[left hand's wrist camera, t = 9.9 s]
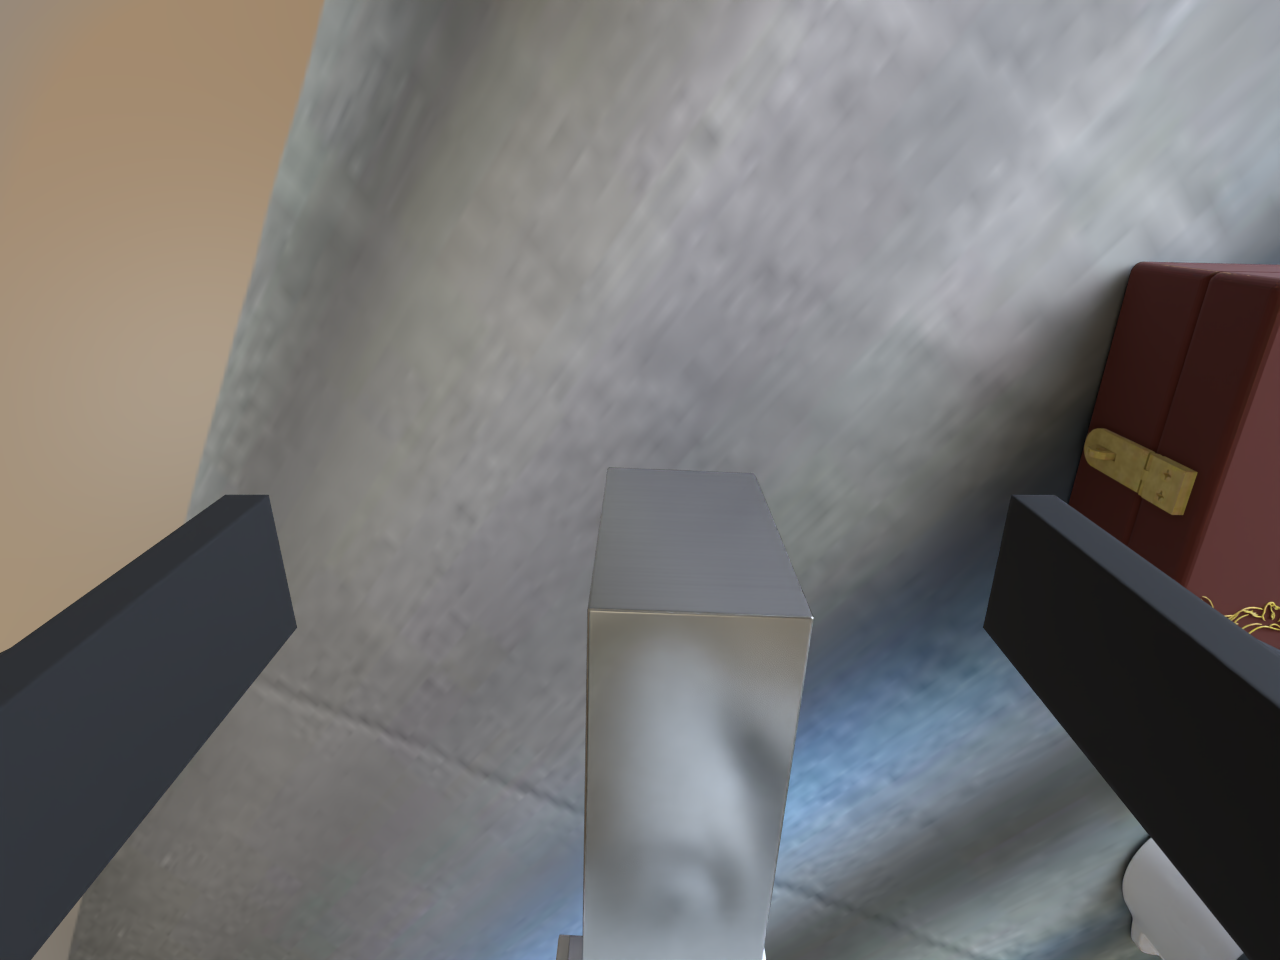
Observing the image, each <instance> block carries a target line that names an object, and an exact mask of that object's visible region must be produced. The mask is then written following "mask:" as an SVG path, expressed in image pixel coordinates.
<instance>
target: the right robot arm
mask: <svg viewBox="0 0 1280 960" xmlns="http://www.w3.org/2000/svg"><path fill="white" fill-rule="evenodd" d="M1122 888H1123V897H1124V900H1125V903H1126V905H1127V907H1128V909H1129V910H1130V912H1131V915H1132V918H1133V921H1132V927H1131V938H1132V940H1133V942H1134V943H1135V944H1136V945H1137V946H1138V948H1139V949H1140V950H1141V951H1142V952H1144V953H1147V954H1152V955H1158V956H1160V957H1161V958H1162V960H1249V959H1248V958H1247V957H1246V955H1245V954H1244V953H1243V952H1242V950H1241V949H1240V948H1239V947H1238V945H1237V944H1236V943H1235V942H1234V940H1233V939H1232V938H1231V937H1230V935H1229V934H1228V933H1227V932H1226V930H1225V929H1224V928H1223V927H1222V925H1221V924H1220V923H1219V922H1218V920H1217V919H1216V918H1215V917H1214V915H1213V914H1212V913H1211V912H1210V910H1209V909H1208V908H1207V907H1206V905H1205V904H1204V903H1203V902H1202V900H1201V899H1200V898H1199V897H1198V895H1197V894H1196V893H1195V892H1194V890H1193V889H1192V888H1191V887H1190V885H1189V884H1188V883H1187V882H1186V880H1185V879H1184V878H1183V877H1182V875H1181V874H1180V873H1179V872H1178V870H1177V869H1176V868H1175V867H1174V865H1173V864H1172V863H1171V862H1170V860H1169V859H1168V858H1167V857H1166V855H1165V854H1164V853H1163V852H1162V850H1161V849H1160V848H1159V847H1158V845H1157V844H1156V843H1155V842H1154V840H1153V839H1152V838H1150V839H1149V840H1148V841H1147V842H1146V843H1145V844H1144V845H1143V846H1142V847H1141V848H1140V849H1139V850H1138V851H1137V853H1136V854H1135V855H1134V857H1133V858H1132V860H1131V861H1130V863H1129V865H1128V867H1127V869H1126V872H1125V875H1124V879H1123V887H1122ZM582 950H583V936H575V935H559V940H558V948H557V957H556V960H582ZM762 960H766V956H765V950H763V957H762Z"/></svg>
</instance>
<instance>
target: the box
mask: <svg viewBox="0 0 1280 960" xmlns="http://www.w3.org/2000/svg"><path fill="white" fill-rule="evenodd" d="M1068 505H1070V506H1071V507H1072V508H1074V509H1075V510H1077V511H1078V512H1079V513H1081V514H1082V515H1084V516H1085V517H1086V518H1088V519H1089V520H1091V521H1092V522H1093V523H1095V524H1096V525H1098V526H1099V527H1101V528H1102V529H1103V530H1105V531H1106V532H1108V533H1109V534H1110V535H1112V536H1113V537H1115V538H1116V539H1117V540H1119V541H1120V542H1122V543H1123V544H1124V545H1126V546H1127V547H1129V548H1130V549H1131V550H1133V551H1134V552H1136V553H1137V554H1138V555H1140V556H1141V557H1143V558H1144V559H1145V560H1147V561H1148V562H1150V563H1151V564H1152V565H1154V566H1155V567H1157V568H1158V569H1159V570H1161V571H1162V572H1164V573H1165V574H1166V575H1168V576H1169V577H1171V578H1172V579H1173V580H1175V581H1176V582H1178V583H1179V584H1180V585H1182V586H1183V587H1185V588H1186V589H1187V590H1189V591H1190V592H1192V593H1193V594H1194V595H1196V596H1197V597H1199V598H1200V599H1202V600H1203V601H1204V602H1206V603H1207V604H1209V605H1210V606H1211V607H1213V608H1214V609H1216V610H1217V611H1218V612H1220V613H1221V614H1223V615H1224V616H1225V617H1227V618H1228V619H1230V620H1231V621H1232V622H1234V623H1235V624H1237V625H1238V626H1239V627H1241V628H1242V629H1244V630H1245V631H1246V632H1248V633H1249V634H1251V635H1252V636H1253V637H1255V638H1256V639H1258V640H1260V641H1262V642H1264V643H1267V644H1269V645H1271V646H1273V647H1275V648H1277V649H1279V650H1280V265H1261V264H1217V263H1173V262H1140V263H1138V264H1136V265H1135V266H1134V267H1133V268H1132V270H1131V274H1130V277H1129V281H1128V285H1127V288H1126V292H1125V296H1124V300H1123V303H1122V307H1121V311H1120V314H1119V318H1118V322H1117V326H1116V329H1115V333H1114V337H1113V340H1112V344H1111V348H1110V352H1109V355H1108V359H1107V363H1106V366H1105V370H1104V374H1103V378H1102V381H1101V385H1100V389H1099V393H1098V396H1097V400H1096V404H1095V407H1094V411H1093V415H1092V419H1091V422H1090V426H1089V430H1088V433H1087V437H1086V441H1085V445H1084V448H1083V452H1082V456H1081V459H1080V463H1079V467H1078V471H1077V474H1076V478H1075V482H1074V485H1073V489H1072V493H1071V497H1070V500H1069V504H1068Z"/></svg>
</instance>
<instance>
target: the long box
mask: <svg viewBox="0 0 1280 960" xmlns="http://www.w3.org/2000/svg"><path fill="white" fill-rule="evenodd" d="M813 621H814V617H813V615H812V612H811V610H810V607H809V605H808V602H807V600H806V597H805V595H804V593H803V590H802V588H801V585H800V583H799V580H798V578H797V576H796V573H795V571H794V568H793V566H792V563H791V561H790V558H789V556H788V554H787V551H786V549H785V546H784V544H783V541H782V539H781V537H780V534H779V532H778V529H777V527H776V524H775V522H774V519H773V517H772V515H771V512H770V510H769V507H768V505H767V502H766V500H765V498H764V495H763V493H762V490H761V488H760V485H759V483H758V480H757V478H756V476H755V474H754V473H740V472H715V471H690V470H664V469H639V468H614V467H609V468H608V469H607V475H606V482H605V489H604V496H603V503H602V510H601V517H600V524H599V531H598V539H597V546H596V553H595V560H594V567H593V574H592V581H591V588H590V595H589V602H588V609H587V674H586V743H585V812H584V881H583V950H582V960H762V957H763V950H764V944H765V937H766V931H767V924H768V917H769V911H770V904H771V898H772V891H773V885H774V878H775V871H776V865H777V858H778V852H779V845H780V838H781V832H782V825H783V819H784V812H785V806H786V799H787V792H788V786H789V779H790V773H791V766H792V759H793V753H794V746H795V740H796V733H797V727H798V720H799V713H800V707H801V700H802V694H803V687H804V680H805V674H806V667H807V661H808V654H809V648H810V641H811V634H812V628H813Z"/></svg>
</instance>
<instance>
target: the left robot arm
mask: <svg viewBox="0 0 1280 960" xmlns="http://www.w3.org/2000/svg"><path fill="white" fill-rule="evenodd" d="M296 628H297V625H296V621H295V616H294V611H293V607H292V602H291V597H290V593H289V588H288V583H287V579H286V574H285V569H284V565H283V560H282V555H281V551H280V546H279V541H278V537H277V532H276V527H275V523H274V518H273V513H272V509H271V504H270V499H269V495H224V496H223V497H222V498H220V499H219V500H217V501H216V502H215V503H213V504H212V505H210V506H209V507H208V508H206V509H205V510H203V511H202V512H201V513H199V514H198V515H196V516H195V517H194V518H192V519H191V520H189V521H188V522H187V523H185V524H184V525H182V526H181V527H179V528H178V529H177V530H175V531H174V532H172V533H171V534H170V535H168V536H167V537H165V538H164V539H163V540H161V541H160V542H159V543H157V544H156V545H154V546H153V547H151V548H150V549H149V550H147V551H146V552H144V553H143V554H142V555H140V556H139V557H137V558H136V559H135V560H133V561H132V562H130V563H129V564H128V565H126V566H125V567H123V568H122V569H121V570H119V571H118V572H116V573H115V574H114V575H112V576H111V577H109V578H108V579H107V580H105V581H104V582H102V583H101V584H100V585H98V586H97V587H95V588H94V589H93V590H91V591H90V592H88V593H87V594H86V595H84V596H83V597H81V598H80V599H79V600H77V601H76V602H74V603H73V604H71V605H70V606H69V607H67V608H66V609H65V610H63V611H62V612H60V613H59V614H58V615H56V616H55V617H53V618H52V619H50V620H49V621H48V622H46V623H45V624H43V625H42V626H41V627H39V628H38V629H37V630H35V631H34V632H32V633H31V634H29V635H28V636H27V637H25V638H24V639H22V640H21V641H20V642H18V643H17V644H15V645H14V646H13V647H11V648H9V649H7V650H5V651H3V652H1V653H0V960H31V959H32V958H33V957H34V955H35V954H36V953H37V952H38V950H39V949H40V948H41V947H42V945H43V944H44V943H45V942H46V940H47V939H48V938H49V937H50V935H51V934H52V933H53V931H54V930H55V929H56V928H57V927H58V925H59V924H60V923H61V922H62V920H63V919H64V918H65V917H66V915H67V914H68V913H69V912H70V910H71V909H72V908H73V907H74V905H75V904H76V903H77V902H78V900H79V899H80V898H81V897H82V895H83V894H84V893H85V892H86V890H87V889H88V888H89V887H90V885H91V884H92V883H93V882H94V880H95V879H96V878H97V877H98V875H99V874H100V873H101V872H102V870H103V869H104V868H105V867H106V865H107V864H108V863H109V862H110V860H111V859H112V858H113V857H114V855H115V854H116V853H117V852H118V850H119V849H120V848H121V847H122V845H123V844H124V843H125V842H126V840H127V839H128V838H129V837H130V835H131V834H132V833H133V832H134V830H135V829H136V828H137V827H138V825H139V824H140V823H141V822H142V820H143V819H144V818H145V817H146V815H147V814H148V813H149V812H150V810H151V809H152V808H153V807H154V805H155V804H156V803H157V802H158V800H159V799H160V798H161V797H162V795H163V794H164V793H165V792H166V790H167V789H168V788H169V787H170V785H171V784H172V783H173V782H174V780H175V779H176V778H177V777H178V775H179V774H180V773H181V772H182V770H183V769H184V768H185V767H186V765H187V764H188V763H189V762H190V760H191V759H192V758H193V757H194V755H195V754H196V753H197V752H198V750H199V749H200V748H201V747H202V745H203V744H204V743H205V742H206V740H207V739H208V738H209V737H210V735H211V734H212V733H213V732H214V730H215V729H216V728H217V727H218V726H219V724H220V723H221V722H222V721H223V719H224V718H225V717H226V716H227V714H228V713H229V712H230V711H231V709H232V708H233V707H234V706H235V704H236V703H237V702H238V701H239V699H240V698H241V697H242V696H243V694H244V693H245V692H246V691H247V689H248V688H249V687H250V686H251V684H252V683H253V682H254V681H255V679H256V678H257V677H258V676H259V674H260V673H261V672H262V671H263V669H264V668H265V667H266V666H267V664H268V663H269V662H270V661H271V659H272V658H273V657H274V656H275V654H276V653H277V652H278V651H279V649H280V648H281V647H282V646H283V644H284V643H285V642H286V641H287V639H288V638H289V637H290V636H291V634H292V633H293V632H294V631H295V629H296ZM983 628H984V629H985V631H986V632H987V633H988V634H989V636H990V637H991V638H992V639H993V641H994V642H995V643H996V644H997V646H998V647H999V648H1000V649H1001V651H1002V652H1003V653H1004V654H1005V656H1006V657H1007V658H1008V659H1009V661H1010V662H1011V663H1012V664H1013V666H1014V667H1015V668H1016V669H1017V671H1018V672H1019V673H1020V674H1021V676H1022V677H1023V678H1024V679H1025V681H1026V682H1027V683H1028V684H1029V686H1030V687H1031V688H1032V689H1033V691H1034V692H1035V693H1036V694H1037V696H1038V697H1039V698H1040V699H1041V701H1042V702H1043V703H1044V704H1045V706H1046V707H1047V708H1048V709H1049V711H1050V712H1051V713H1052V714H1053V716H1054V717H1055V718H1056V719H1057V721H1058V722H1059V723H1060V724H1061V726H1062V727H1063V728H1064V729H1065V730H1066V732H1067V733H1068V734H1069V735H1070V737H1071V738H1072V739H1073V740H1074V742H1075V743H1076V744H1077V745H1078V747H1079V748H1080V749H1081V750H1082V752H1083V753H1084V754H1085V755H1086V757H1087V758H1088V759H1089V760H1090V762H1091V763H1092V764H1093V765H1094V767H1095V768H1096V769H1097V770H1098V772H1099V773H1100V774H1101V775H1102V777H1103V778H1104V779H1105V780H1106V782H1107V783H1108V784H1109V785H1110V787H1111V788H1112V789H1113V790H1114V792H1115V793H1116V794H1117V795H1118V797H1119V798H1120V799H1121V800H1122V802H1123V803H1124V804H1125V805H1126V807H1127V808H1128V809H1129V810H1130V812H1131V813H1132V814H1133V815H1134V817H1135V818H1136V819H1137V820H1138V822H1139V823H1140V824H1141V825H1142V827H1143V828H1144V829H1145V830H1146V832H1147V833H1148V834H1149V835H1150V837H1151V838H1152V839H1153V840H1154V842H1155V843H1156V844H1157V845H1158V847H1159V848H1160V849H1161V850H1162V852H1163V853H1164V854H1165V855H1166V857H1167V858H1168V859H1169V860H1170V862H1171V863H1172V864H1173V865H1174V867H1175V868H1176V869H1177V870H1178V872H1179V873H1180V874H1181V875H1182V877H1183V878H1184V879H1185V880H1186V882H1187V883H1188V884H1189V885H1190V887H1191V888H1192V889H1193V890H1194V892H1195V893H1196V894H1197V895H1198V897H1199V898H1200V899H1201V900H1202V902H1203V903H1204V904H1205V905H1206V907H1207V908H1208V909H1209V910H1210V912H1211V913H1212V914H1213V915H1214V917H1215V918H1216V919H1217V920H1218V922H1219V923H1220V924H1221V925H1222V927H1223V928H1224V929H1225V930H1226V932H1227V933H1228V934H1229V935H1230V937H1231V938H1232V939H1233V940H1234V942H1235V943H1236V944H1237V945H1238V947H1239V948H1240V949H1241V950H1242V952H1243V953H1244V954H1245V955H1246V957H1247V958H1248V959H1249V960H1280V650H1279V649H1277V648H1275V647H1273V646H1271V645H1269V644H1267V643H1264V642H1262V641H1260V640H1258V639H1256V638H1255V637H1253V636H1252V635H1251V634H1249V633H1248V632H1246V631H1245V630H1244V629H1242V628H1241V627H1239V626H1238V625H1237V624H1235V623H1234V622H1232V621H1231V620H1230V619H1228V618H1227V617H1225V616H1224V615H1223V614H1221V613H1220V612H1218V611H1217V610H1216V609H1214V608H1213V607H1211V606H1210V605H1209V604H1207V603H1206V602H1204V601H1203V600H1202V599H1200V598H1199V597H1197V596H1196V595H1194V594H1193V593H1192V592H1190V591H1189V590H1187V589H1186V588H1185V587H1183V586H1182V585H1180V584H1179V583H1178V582H1176V581H1175V580H1173V579H1172V578H1171V577H1169V576H1168V575H1166V574H1165V573H1164V572H1162V571H1161V570H1159V569H1158V568H1157V567H1155V566H1154V565H1152V564H1151V563H1150V562H1148V561H1147V560H1145V559H1144V558H1143V557H1141V556H1140V555H1138V554H1137V553H1136V552H1134V551H1133V550H1131V549H1130V548H1129V547H1127V546H1126V545H1124V544H1123V543H1122V542H1120V541H1119V540H1117V539H1116V538H1115V537H1113V536H1112V535H1110V534H1109V533H1108V532H1106V531H1105V530H1103V529H1102V528H1101V527H1099V526H1098V525H1096V524H1095V523H1093V522H1092V521H1091V520H1089V519H1088V518H1086V517H1085V516H1084V515H1082V514H1081V513H1079V512H1078V511H1077V510H1075V509H1074V508H1072V507H1071V506H1070V505H1068V504H1067V503H1065V502H1064V501H1063V500H1061V499H1060V498H1058V497H1057V496H1056V495H1011V499H1010V504H1009V509H1008V513H1007V518H1006V523H1005V527H1004V532H1003V537H1002V541H1001V546H1000V551H999V555H998V560H997V565H996V569H995V574H994V579H993V583H992V588H991V593H990V597H989V602H988V607H987V611H986V616H985V621H984V625H983Z"/></svg>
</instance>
